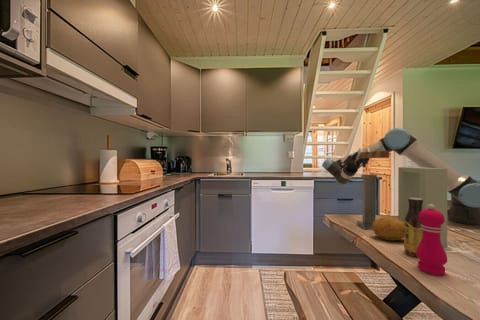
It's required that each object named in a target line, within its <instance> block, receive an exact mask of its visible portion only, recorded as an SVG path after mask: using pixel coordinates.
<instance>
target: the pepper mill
mask: <svg viewBox="0 0 480 320" xmlns="http://www.w3.org/2000/svg"><path fill="white" fill-rule="evenodd" d="M434 209H435V206H434V205H433V204H429V205H428V209H424V210H422V211H421V212H420V213H419V220H420V221H421V222H422V224H421V229H422V231H423V235H422V240H421V242H420V243H419V245H418V247H417V250H416V256H417V257H416V258H418V259H419V260H418V262H417V268H418V269H419V270H420V271H421V272H423V273H425V274H428V275H429V274H430V275H432V276H445V274H446V267H445V265H446V264H447V263H448V256H447V252H446V250H445V248H444V246H442V244H441V240H440V233H441V232H442V227H441V225H442V224H443V223H444V222H445V218H444V215H443V214H442V213H441V212H439V211H437V210H434Z"/></svg>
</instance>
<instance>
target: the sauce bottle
mask: <svg viewBox="0 0 480 320" xmlns="http://www.w3.org/2000/svg"><path fill="white" fill-rule="evenodd" d="M408 202H409V210H408V213H407V215H406V217H405V219H404V238H403V241H404V242H403V243H404V244H403V247H404V248H403V249H404V252H405V254H407V255H408V256H412V257H415V258H418V257H417V256H416V250H417V247H418V245H419V243H420V242H421V240H422V235H423V231H422V229H421V224H422V222H421V221H420V220H419V213H420V212H421V211H422V204H423V199H421V198H408Z"/></svg>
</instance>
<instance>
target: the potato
mask: <svg viewBox="0 0 480 320" xmlns="http://www.w3.org/2000/svg"><path fill="white" fill-rule="evenodd" d="M372 229H373V230H372V232H374V234H375V236H377V237H379V238H381V239H383V240H386V241H397V240H398V241H399V240H402V239H404V222H403V221H401V220H398V218H393V217H378V218H377V219H376V218H375V221H374V222H373V224H372Z"/></svg>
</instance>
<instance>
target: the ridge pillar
mask: <svg viewBox="0 0 480 320" xmlns="http://www.w3.org/2000/svg"><path fill="white" fill-rule="evenodd" d="M360 176H361V179H362V220H357V221H356V225H357V226H358V227H359V228H361V229H363V230H369V231H373V229H372V224H373V222H374V221H375V220H376V208H377V207H376V197H377V195H376V189H377V187H376V183H377V181H376V180H377V179H378V175H377V174H361V175H360Z"/></svg>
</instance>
